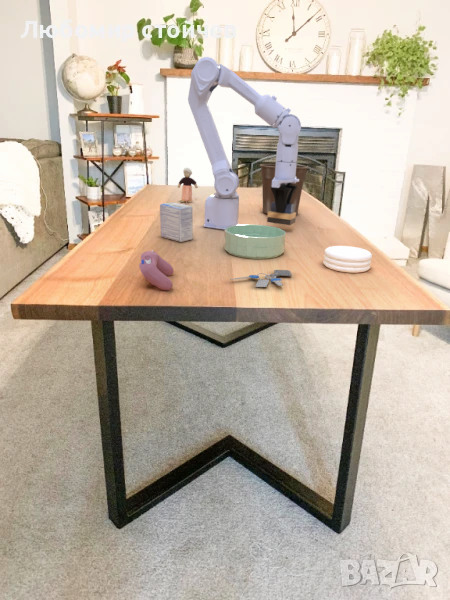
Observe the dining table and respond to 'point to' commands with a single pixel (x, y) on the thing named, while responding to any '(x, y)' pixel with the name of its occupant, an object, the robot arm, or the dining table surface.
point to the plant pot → (267, 178)
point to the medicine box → (176, 221)
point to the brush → (282, 215)
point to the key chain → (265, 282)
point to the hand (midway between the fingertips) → (282, 211)
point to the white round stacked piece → (347, 259)
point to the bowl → (254, 241)
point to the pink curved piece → (156, 270)
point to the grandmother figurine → (187, 186)
